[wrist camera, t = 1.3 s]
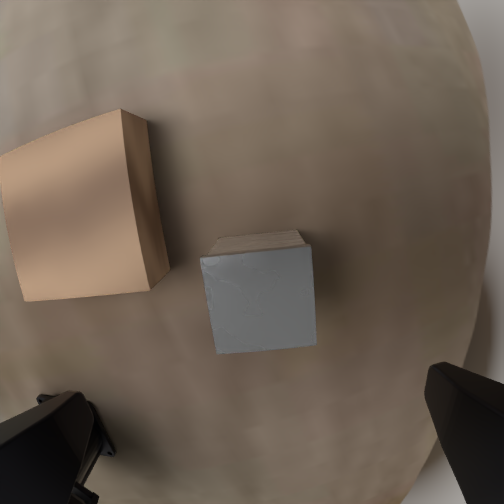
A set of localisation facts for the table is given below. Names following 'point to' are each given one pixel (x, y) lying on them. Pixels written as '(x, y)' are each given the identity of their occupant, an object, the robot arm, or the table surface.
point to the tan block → (84, 210)
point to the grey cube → (260, 292)
